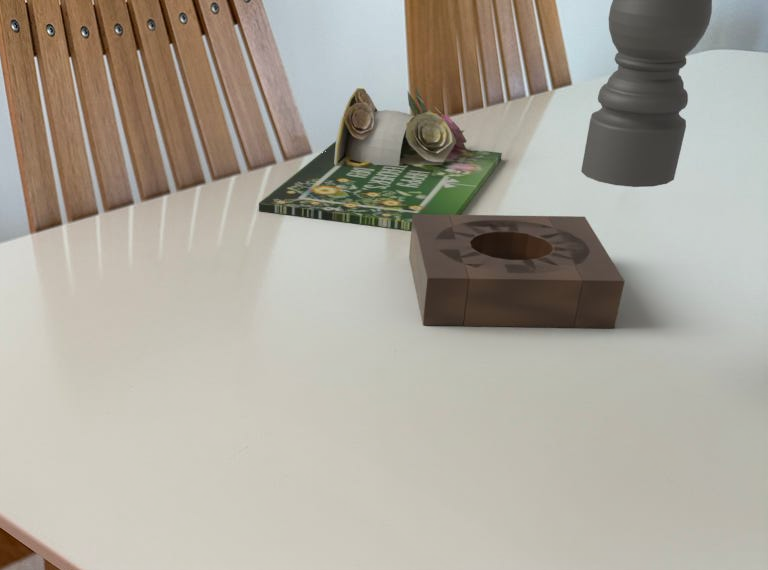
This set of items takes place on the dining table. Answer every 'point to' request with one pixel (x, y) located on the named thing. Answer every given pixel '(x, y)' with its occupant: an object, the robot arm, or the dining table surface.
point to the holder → (512, 272)
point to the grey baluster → (644, 92)
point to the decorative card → (386, 169)
